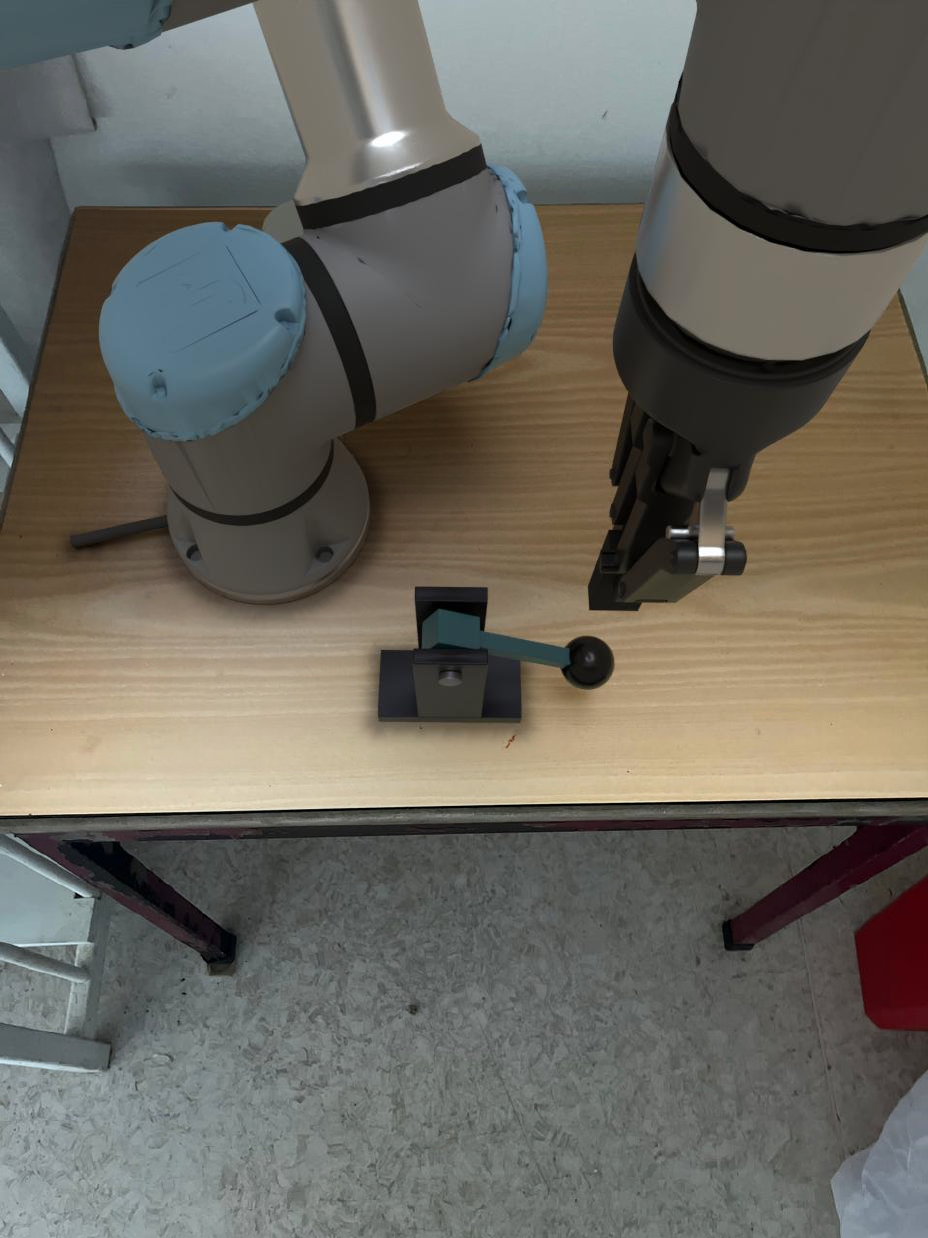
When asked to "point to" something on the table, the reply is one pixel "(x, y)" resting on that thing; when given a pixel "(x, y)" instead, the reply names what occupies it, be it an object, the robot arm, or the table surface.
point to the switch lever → (523, 648)
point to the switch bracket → (449, 671)
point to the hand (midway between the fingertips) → (612, 598)
